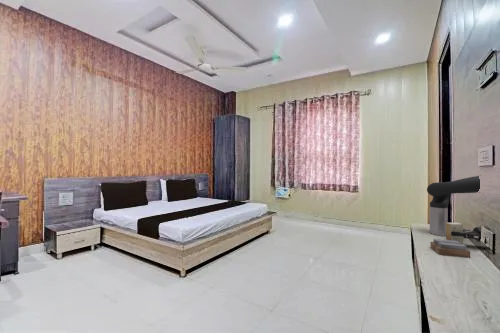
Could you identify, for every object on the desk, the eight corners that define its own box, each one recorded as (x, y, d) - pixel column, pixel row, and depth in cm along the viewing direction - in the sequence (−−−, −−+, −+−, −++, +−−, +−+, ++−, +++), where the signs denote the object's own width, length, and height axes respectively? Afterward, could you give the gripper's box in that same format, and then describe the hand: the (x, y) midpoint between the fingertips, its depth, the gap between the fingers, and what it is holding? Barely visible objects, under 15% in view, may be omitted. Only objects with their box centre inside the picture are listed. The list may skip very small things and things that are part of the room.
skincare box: (457, 244, 137) (457, 222, 137) (463, 246, 132) (463, 224, 133) (445, 244, 137) (445, 222, 138) (451, 246, 133) (450, 223, 133)
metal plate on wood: (430, 247, 131) (430, 238, 131) (457, 249, 128) (457, 240, 128) (440, 254, 120) (440, 244, 120) (470, 257, 116) (470, 247, 116)
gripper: (479, 225, 137) (442, 222, 142) (495, 231, 124) (455, 228, 129) (479, 238, 137) (442, 235, 142) (495, 246, 124) (455, 242, 129)
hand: (449, 232), depth 136 cm, fingers closed on skincare box, 5 cm apart
